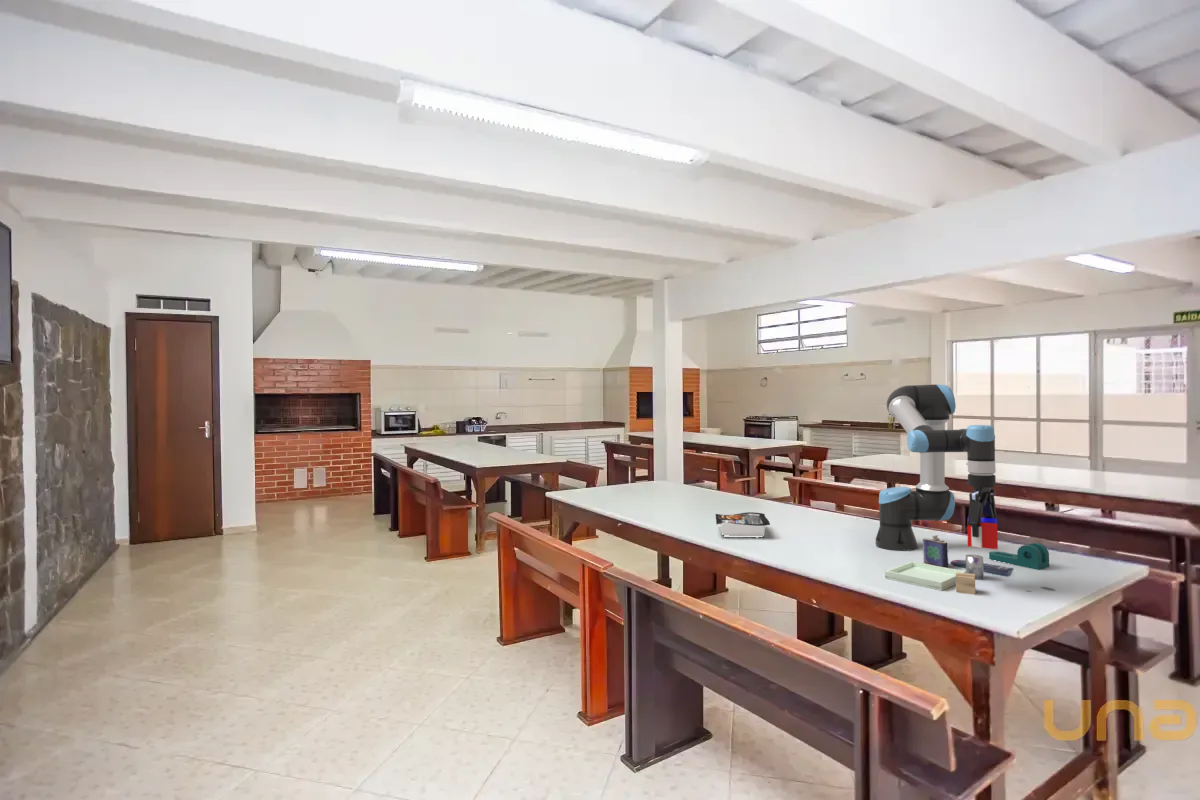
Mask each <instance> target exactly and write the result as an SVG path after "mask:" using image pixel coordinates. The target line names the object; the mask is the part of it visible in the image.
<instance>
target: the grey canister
mask: <svg viewBox="0 0 1200 800" xmlns="http://www.w3.org/2000/svg"><path fill="white" fill-rule="evenodd" d="M984 570H985V569H984V556H982V555H978V554H966V555H965V571H966V573H968V574H975V581H976V580H978V581H979V580H981V581H982V580H984V577H985V576H984V573H985V571H984Z"/></svg>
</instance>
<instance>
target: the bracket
mask: <svg viewBox="0 0 1200 800" xmlns="http://www.w3.org/2000/svg"><path fill="white" fill-rule="evenodd" d="M1016 552H1017V553H1016V554H1014V553H1012V552H1011V553H1010V552H1005V551H995V550H994V551H989V553H988V559H989V560H990V559H991V561H994V560H996V561H995V562H998V561H1000V562H999V563H1003V562H1005V563H1004V564H1008V563H1009V564H1008V565H1012V564H1013V566H1017V567H1023V568H1027V569H1031V570H1037V571H1040V570H1044V569H1048V568H1050V552H1049V549H1048V548H1047V547H1046V546H1045V545H1044V544H1042V543H1039V542H1034V543H1029V544H1025V545H1021V546H1020V547H1018V549H1017V551H1016Z"/></svg>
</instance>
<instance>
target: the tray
mask: <svg viewBox="0 0 1200 800" xmlns="http://www.w3.org/2000/svg"><path fill="white" fill-rule="evenodd" d="M956 572H959V573H966V570H965V571H964V570H959V569H954V568H950V567H948V568H945V567H939V566H934V565H930V564H925V563H924V562H918V561H911V560H910V561H908V562H905V563H903V564H900V565H897V566H894V567H892V568H889V569H887V570H885V571H884V580H885V579H886V580H891V581H895V582H900V583H905V584H908V585H913V586H919V587H923V588H928V589H933V590H935V591H936V590H937V591H940V592H941V591H945V590H946V589H948V588H951V587H952V586H956Z"/></svg>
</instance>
